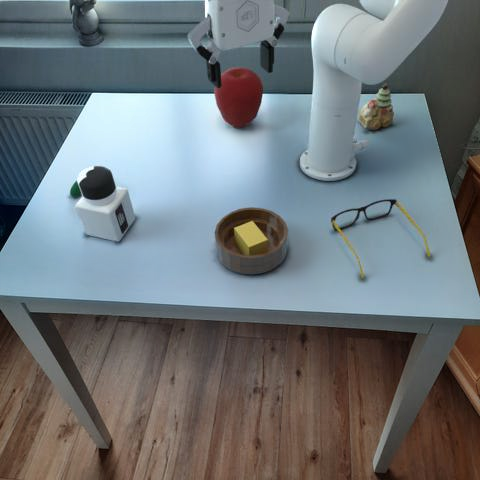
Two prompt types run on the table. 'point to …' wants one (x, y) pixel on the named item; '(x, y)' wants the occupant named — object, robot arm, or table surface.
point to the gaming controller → (75, 190)
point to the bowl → (267, 224)
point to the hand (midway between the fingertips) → (241, 77)
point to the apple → (239, 96)
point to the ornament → (377, 111)
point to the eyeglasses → (392, 202)
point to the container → (103, 204)
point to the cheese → (250, 239)
